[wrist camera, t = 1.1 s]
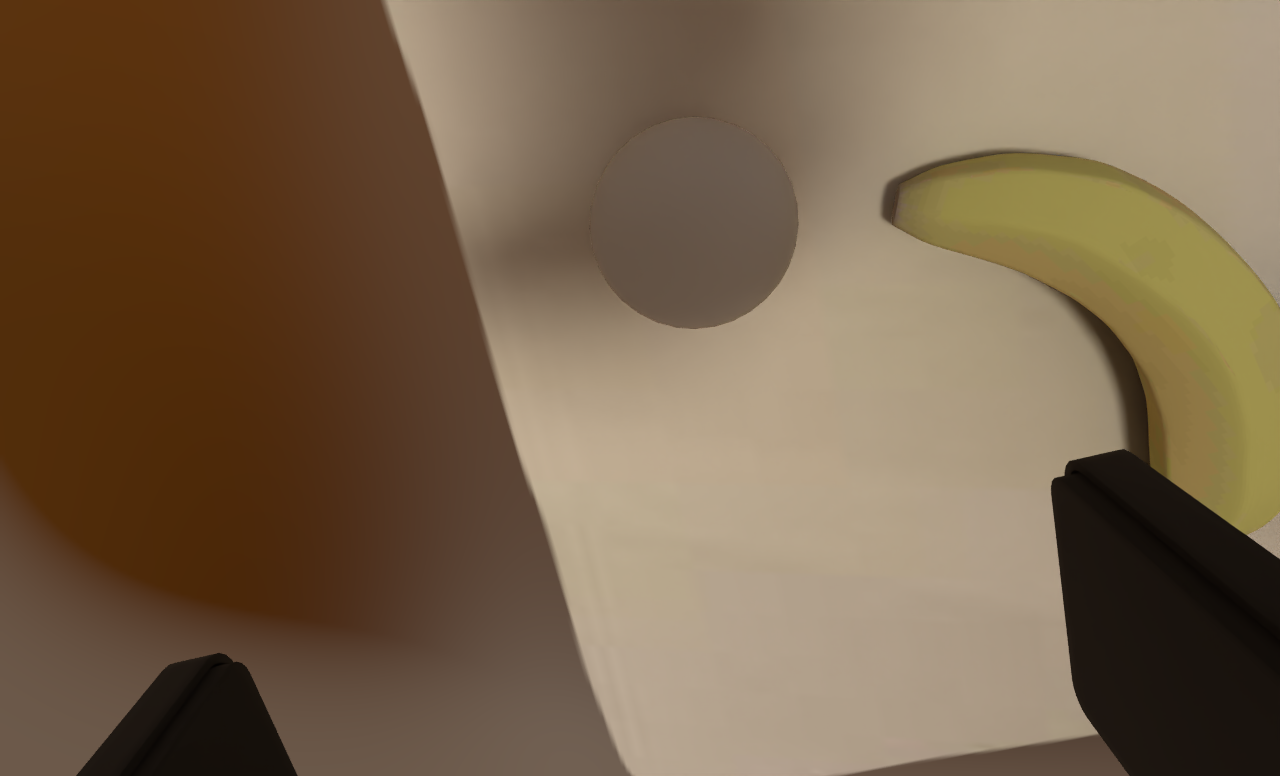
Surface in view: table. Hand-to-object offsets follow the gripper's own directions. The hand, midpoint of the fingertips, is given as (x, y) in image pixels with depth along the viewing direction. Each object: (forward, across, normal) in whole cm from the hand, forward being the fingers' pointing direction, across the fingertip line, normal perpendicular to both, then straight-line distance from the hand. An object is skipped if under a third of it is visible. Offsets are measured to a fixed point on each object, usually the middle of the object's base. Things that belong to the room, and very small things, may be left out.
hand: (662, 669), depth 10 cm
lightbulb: (+26, -2, -2) cm, 26 cm away
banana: (+26, -16, +9) cm, 32 cm away
